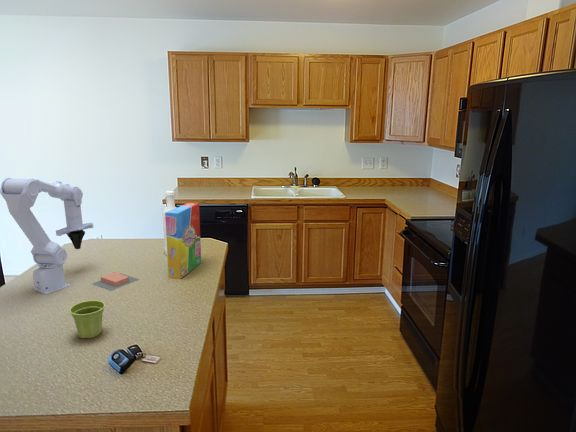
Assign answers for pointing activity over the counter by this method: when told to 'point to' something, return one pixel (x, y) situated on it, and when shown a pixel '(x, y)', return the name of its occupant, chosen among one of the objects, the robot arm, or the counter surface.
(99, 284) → the mat
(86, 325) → the plant pot
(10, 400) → the counter surface
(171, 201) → the bottle
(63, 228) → the robot arm
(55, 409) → the counter surface
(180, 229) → the game box
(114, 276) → the block
